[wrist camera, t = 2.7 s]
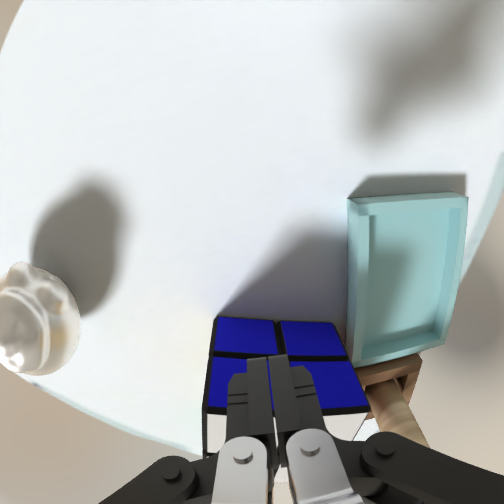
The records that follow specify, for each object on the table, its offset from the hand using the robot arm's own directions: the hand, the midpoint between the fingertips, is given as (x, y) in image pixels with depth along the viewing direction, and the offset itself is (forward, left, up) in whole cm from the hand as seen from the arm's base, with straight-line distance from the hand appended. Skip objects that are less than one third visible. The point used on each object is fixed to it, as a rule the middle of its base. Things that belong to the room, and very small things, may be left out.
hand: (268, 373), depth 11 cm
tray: (+3, +12, -12) cm, 17 cm away
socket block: (+14, +11, -12) cm, 21 cm away
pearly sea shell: (+1, -18, -12) cm, 22 cm away
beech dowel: (+14, +11, -12) cm, 21 cm away
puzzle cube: (+10, 0, -12) cm, 16 cm away
